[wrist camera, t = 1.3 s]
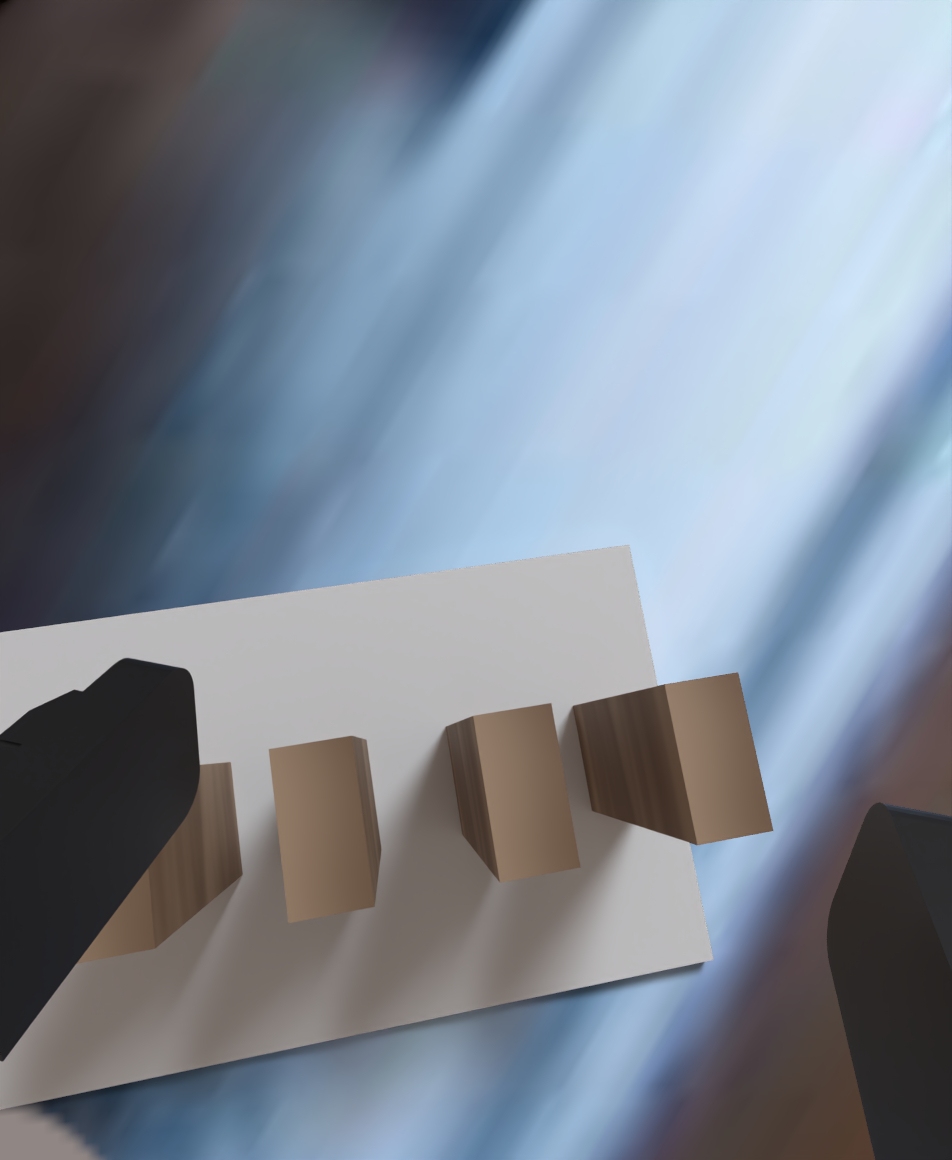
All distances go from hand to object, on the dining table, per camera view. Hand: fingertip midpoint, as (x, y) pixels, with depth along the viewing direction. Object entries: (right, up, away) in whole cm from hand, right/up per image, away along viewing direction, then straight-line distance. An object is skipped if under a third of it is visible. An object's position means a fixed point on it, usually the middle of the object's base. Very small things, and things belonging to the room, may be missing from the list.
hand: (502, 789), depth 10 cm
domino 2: (-5, -6, +20) cm, 22 cm away
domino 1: (-10, -6, +20) cm, 23 cm away
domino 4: (+5, -4, +22) cm, 23 cm away
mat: (-10, -6, +20) cm, 23 cm away
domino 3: (0, -5, +21) cm, 22 cm away
